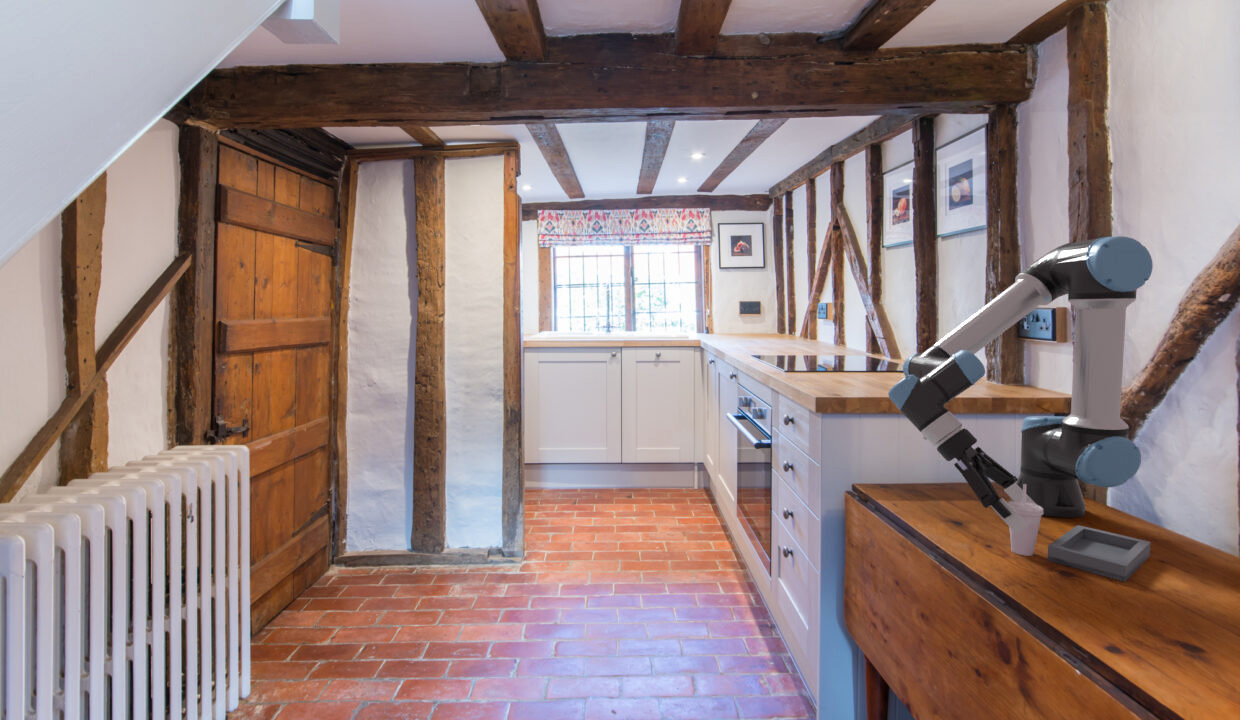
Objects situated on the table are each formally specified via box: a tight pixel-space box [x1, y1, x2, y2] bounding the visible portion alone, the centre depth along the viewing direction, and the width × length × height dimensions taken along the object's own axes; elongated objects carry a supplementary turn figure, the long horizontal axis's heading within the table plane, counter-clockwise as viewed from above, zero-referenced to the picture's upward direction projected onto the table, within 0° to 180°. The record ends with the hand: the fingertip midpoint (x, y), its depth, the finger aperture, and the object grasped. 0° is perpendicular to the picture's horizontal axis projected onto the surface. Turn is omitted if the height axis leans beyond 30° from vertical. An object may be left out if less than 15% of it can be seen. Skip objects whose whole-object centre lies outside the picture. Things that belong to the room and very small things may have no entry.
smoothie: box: [1006, 484, 1044, 557], centre depth 121 cm, size 6×6×14 cm
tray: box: [1046, 524, 1152, 583], centre depth 119 cm, size 18×12×3 cm, turn 128°
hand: (1028, 520), depth 121 cm, fingers open, 13 cm apart
